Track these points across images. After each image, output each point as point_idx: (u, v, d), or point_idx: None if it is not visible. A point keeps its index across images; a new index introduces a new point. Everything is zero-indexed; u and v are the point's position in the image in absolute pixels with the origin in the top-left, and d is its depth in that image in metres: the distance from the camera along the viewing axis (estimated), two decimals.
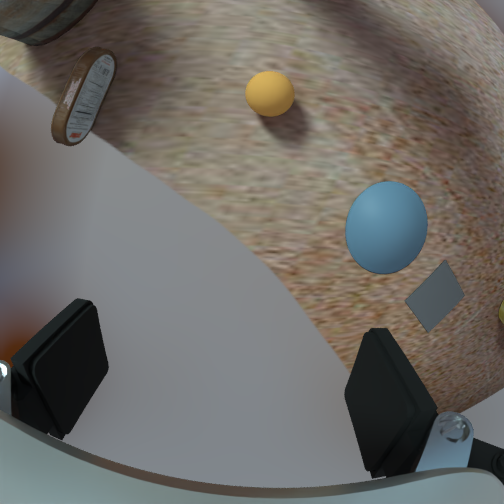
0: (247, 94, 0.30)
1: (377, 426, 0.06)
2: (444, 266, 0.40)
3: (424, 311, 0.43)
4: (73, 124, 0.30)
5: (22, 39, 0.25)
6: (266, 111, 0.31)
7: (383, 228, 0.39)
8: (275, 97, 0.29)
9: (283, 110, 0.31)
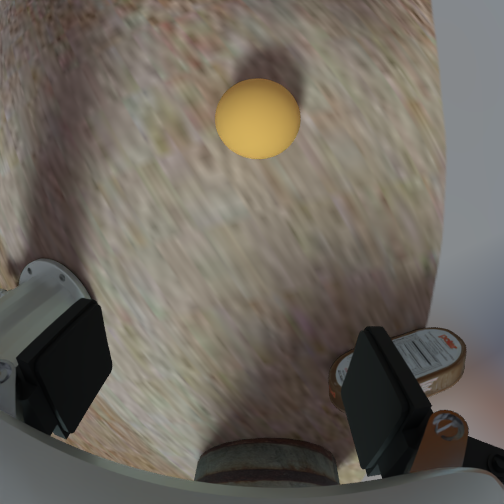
0: (288, 142, 0.18)
1: (372, 424, 0.06)
2: None
3: None
4: (442, 354, 0.21)
5: (338, 483, 0.30)
6: (292, 98, 0.17)
7: None
8: (265, 94, 0.16)
9: (269, 80, 0.17)
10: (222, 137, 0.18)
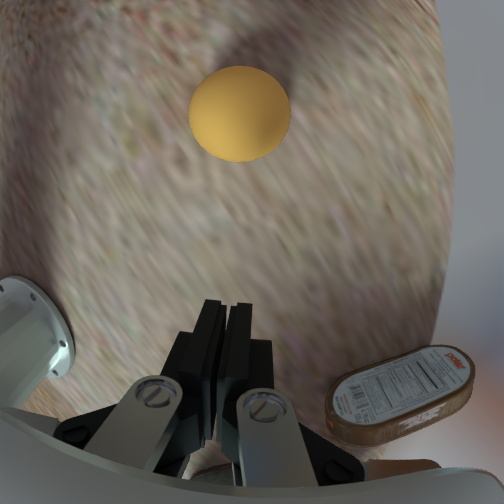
0: (275, 140, 0.15)
1: None
2: None
3: None
4: (450, 376, 0.19)
5: None
6: (281, 88, 0.14)
7: None
8: (248, 83, 0.13)
9: (253, 67, 0.14)
10: (196, 136, 0.15)
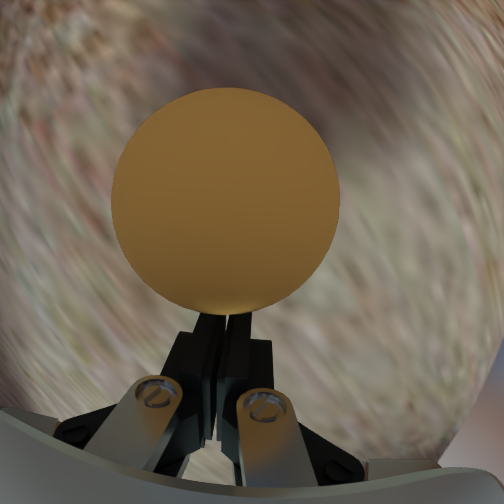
0: (322, 141, 0.06)
1: None
2: None
3: None
4: None
5: None
6: None
7: None
8: None
9: None
10: (137, 129, 0.06)
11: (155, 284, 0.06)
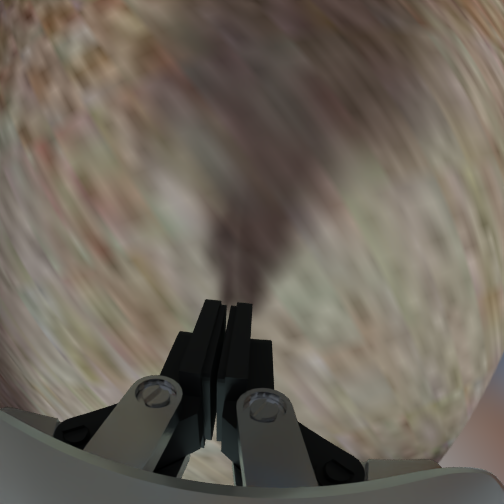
0: None
1: None
2: None
3: None
4: None
5: None
6: None
7: None
8: None
9: None
10: None
11: None
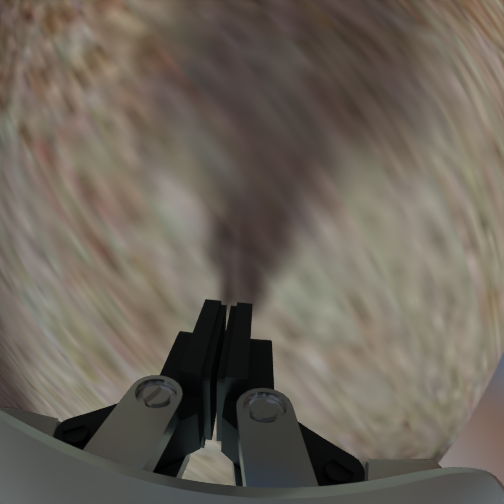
0: None
1: None
2: None
3: None
4: None
5: None
6: None
7: None
8: None
9: None
10: None
11: None
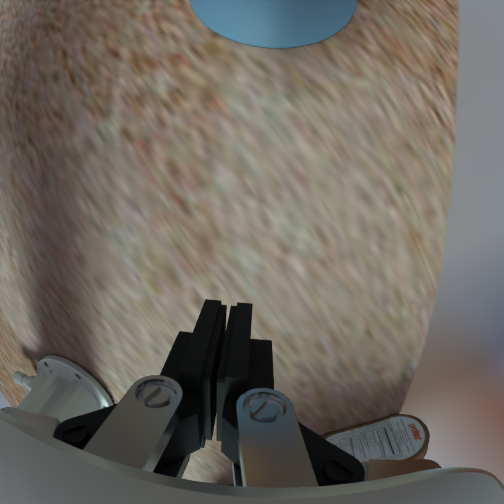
0: None
1: None
2: None
3: None
4: (406, 445, 0.23)
5: None
6: None
7: None
8: None
9: None
10: None
11: None
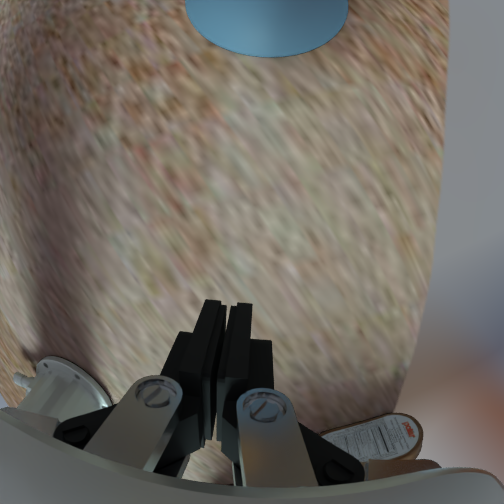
0: None
1: None
2: None
3: None
4: (400, 443, 0.24)
5: None
6: None
7: None
8: None
9: None
10: None
11: None
